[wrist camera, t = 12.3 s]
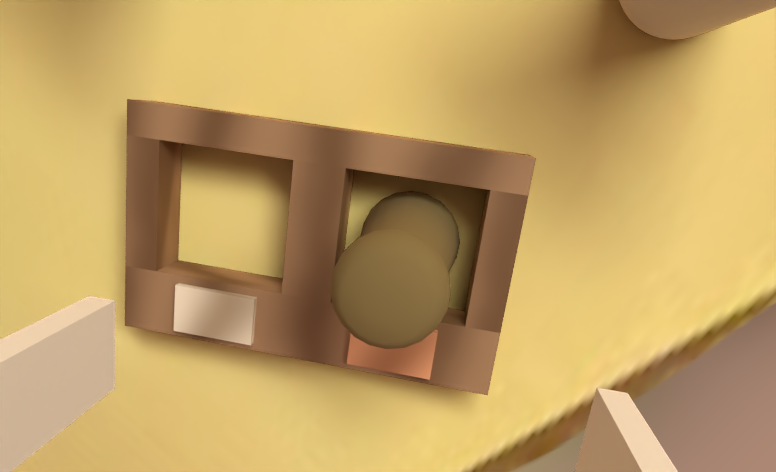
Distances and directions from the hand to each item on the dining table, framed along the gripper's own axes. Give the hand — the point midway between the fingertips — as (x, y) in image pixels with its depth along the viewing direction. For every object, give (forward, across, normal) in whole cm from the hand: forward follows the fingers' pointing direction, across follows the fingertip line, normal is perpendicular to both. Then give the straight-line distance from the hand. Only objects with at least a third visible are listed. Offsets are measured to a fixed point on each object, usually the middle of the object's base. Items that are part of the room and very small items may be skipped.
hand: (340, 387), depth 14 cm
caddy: (+18, -5, -1) cm, 19 cm away
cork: (+18, 0, 0) cm, 18 cm away
